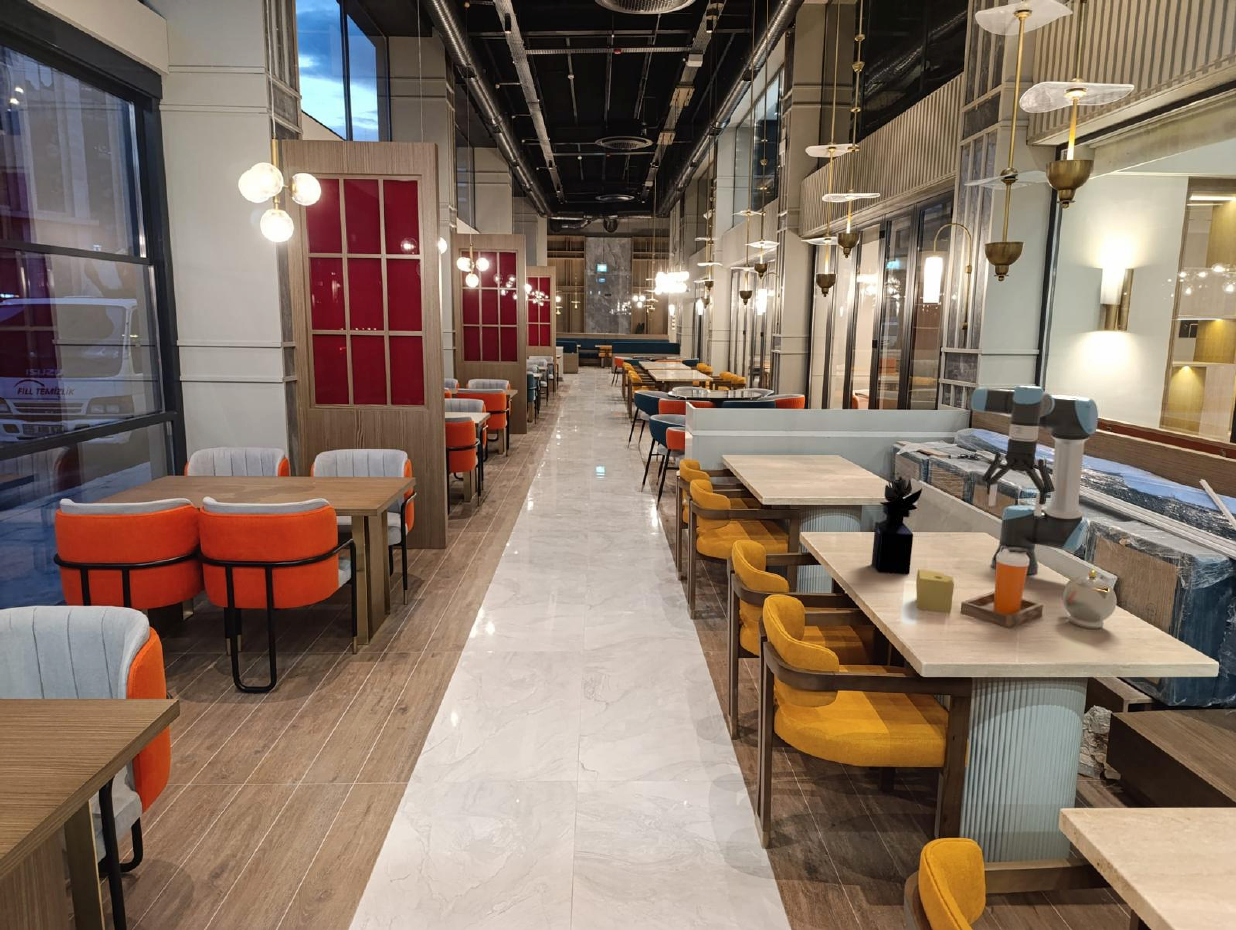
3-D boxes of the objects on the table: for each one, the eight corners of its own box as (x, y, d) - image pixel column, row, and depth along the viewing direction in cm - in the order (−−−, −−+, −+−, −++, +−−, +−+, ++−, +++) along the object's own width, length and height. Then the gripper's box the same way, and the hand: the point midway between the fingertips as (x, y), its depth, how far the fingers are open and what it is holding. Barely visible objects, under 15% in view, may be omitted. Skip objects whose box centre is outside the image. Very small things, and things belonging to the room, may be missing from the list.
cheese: (949, 603, 250) (952, 572, 249) (951, 614, 240) (955, 582, 239) (914, 598, 254) (917, 568, 252) (915, 609, 244) (918, 577, 242)
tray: (993, 601, 253) (994, 590, 252) (1041, 615, 241) (1043, 604, 241) (960, 613, 241) (961, 602, 240) (1009, 629, 229) (1010, 617, 229)
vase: (909, 565, 290) (918, 470, 284) (917, 575, 278) (928, 476, 272) (868, 563, 291) (877, 468, 285) (876, 572, 280) (885, 474, 273)
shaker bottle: (1026, 618, 235) (1035, 553, 231) (994, 615, 236) (1002, 550, 233) (1017, 608, 244) (1025, 545, 240) (986, 605, 245) (994, 542, 242)
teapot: (1125, 633, 229) (1133, 579, 226) (1080, 633, 228) (1087, 578, 225) (1084, 611, 246) (1091, 560, 244) (1042, 611, 245) (1049, 560, 243)
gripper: (975, 434, 239) (967, 503, 243) (1061, 446, 220) (1051, 520, 224) (987, 433, 244) (979, 500, 248) (1073, 444, 225) (1063, 517, 228)
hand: (1014, 510), depth 236 cm, fingers open, 13 cm apart
